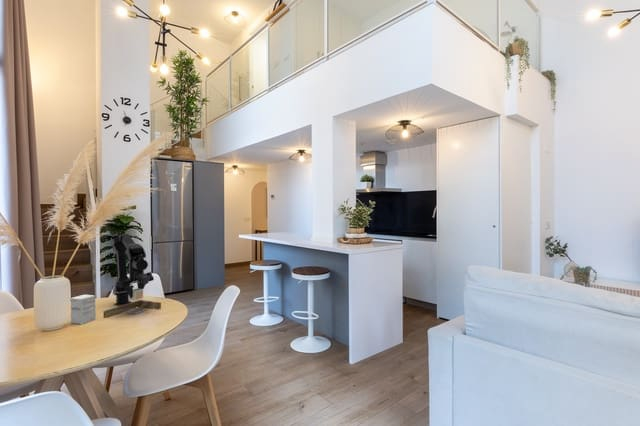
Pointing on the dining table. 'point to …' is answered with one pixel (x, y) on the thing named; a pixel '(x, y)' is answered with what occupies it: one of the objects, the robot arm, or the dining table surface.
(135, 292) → the sage cube
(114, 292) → the robot arm
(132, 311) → the tile
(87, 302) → the supplement box
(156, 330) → the dining table surface
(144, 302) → the block
